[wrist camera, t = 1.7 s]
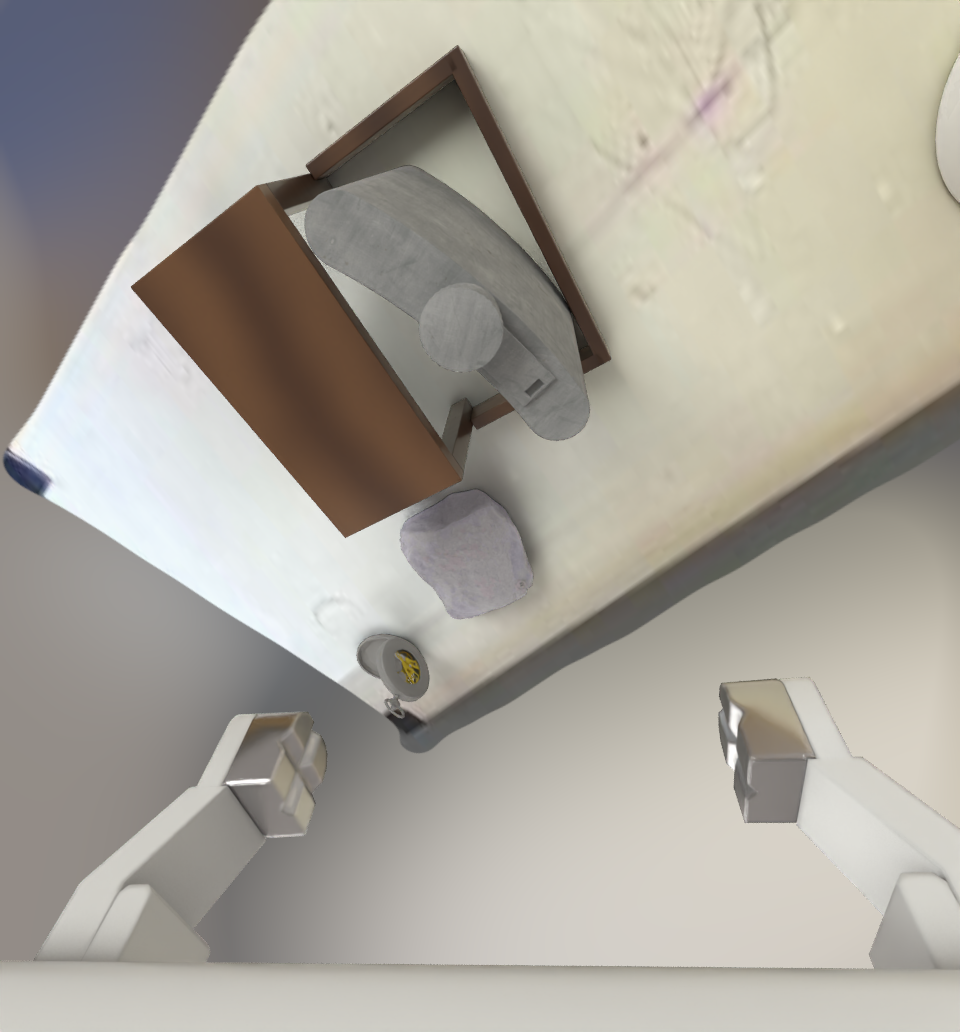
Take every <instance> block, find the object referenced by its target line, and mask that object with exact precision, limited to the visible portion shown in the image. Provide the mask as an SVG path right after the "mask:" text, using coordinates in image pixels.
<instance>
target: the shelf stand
mask: <svg viewBox="0 0 960 1032" xmlns="http://www.w3.org/2000/svg"><path fill="white" fill-rule="evenodd" d="M454 79H455V81H456V83H457V85H458V87H459V89H460V91H461V93H462V95H463V97H464V98H465V100H466V102H467V104H468V106H469V108H470V110H471V112H472V114H473V116H474V118H475V120H476V122H477V124H478V126H479V128H480V130H481V132H482V134H483V136H484V138H485V140H486V142H487V144H488V146H489V148H490V150H491V152H492V154H493V156H494V158H495V160H496V162H497V164H498V166H499V168H500V170H501V172H502V174H503V176H504V178H505V180H506V182H507V184H508V186H509V188H510V190H511V192H512V194H513V196H514V198H515V200H516V202H517V204H518V206H519V208H520V210H521V212H522V214H523V216H524V218H525V220H526V222H527V224H528V226H529V228H530V230H531V232H532V234H533V236H534V238H535V240H536V242H537V243H538V245H539V247H540V249H541V251H542V253H543V255H544V257H545V259H546V261H547V263H548V265H549V267H550V269H551V271H552V273H553V275H554V277H555V279H556V281H557V283H558V285H559V287H560V289H561V291H562V293H563V295H564V297H565V299H566V301H567V303H568V305H569V307H570V309H571V311H572V313H573V315H574V317H575V319H576V321H577V323H578V325H579V327H580V329H581V331H582V333H583V335H584V337H585V339H586V341H587V343H588V346H586V347H585V348H583V349H581V350H579V356H580V361H581V366H582V371H583V374H585V373H587V372H589V371H591V370H592V369H594V368H596V367H598V366H600V365H602V364H604V363H606V362H608V361H610V360H611V356H610V353H609V350H608V347H607V345H606V343H605V341H604V339H603V337H602V335H601V333H600V331H599V329H598V327H597V325H596V323H595V321H594V318H593V316H592V314H591V312H590V310H589V308H588V306H587V304H586V302H585V300H584V298H583V296H582V294H581V292H580V290H579V288H578V286H577V284H576V282H575V280H574V277H573V275H572V273H571V271H570V269H569V267H568V265H567V263H566V261H565V259H564V257H563V255H562V253H561V251H560V249H559V247H558V245H557V243H556V241H555V239H554V236H553V234H552V232H551V230H550V228H549V226H548V224H547V222H546V220H545V218H544V216H543V214H542V212H541V210H540V208H539V206H538V204H537V202H536V200H535V198H534V196H533V193H532V191H531V189H530V187H529V185H528V183H527V181H526V179H525V177H524V175H523V173H522V171H521V169H520V167H519V165H518V163H517V161H516V159H515V157H514V155H513V152H512V150H511V148H510V146H509V144H508V142H507V140H506V138H505V136H504V134H503V132H502V130H501V128H500V126H499V124H498V122H497V120H496V118H495V116H494V114H493V111H492V109H491V107H490V105H489V103H488V101H487V99H486V97H485V95H484V93H483V91H482V89H481V87H480V85H479V83H478V81H477V79H476V77H475V75H474V73H473V71H472V68H471V66H470V64H469V62H468V60H467V58H466V56H465V54H464V52H463V50H462V49H461V48H460V47H459V46H458V45H457V46H455V47H454V48H453V49H452V50H450V51H449V52H448V53H447V54H445V55H444V56H443V57H442V58H440V59H439V60H438V61H436V62H435V63H434V64H433V65H431V66H430V67H429V68H428V69H426V70H425V71H424V72H423V73H421V74H420V75H419V76H417V77H416V78H415V79H414V80H412V81H411V82H410V83H409V84H407V85H406V86H405V87H404V88H402V89H401V90H400V91H399V92H397V93H396V94H395V95H393V96H392V97H391V98H390V99H388V100H387V101H386V102H385V103H383V104H382V105H381V106H380V107H378V108H377V109H376V110H374V111H373V112H372V113H371V114H369V115H368V116H367V117H366V118H364V119H363V120H362V121H361V122H359V123H358V124H357V125H355V126H354V127H353V128H352V129H350V130H349V131H348V132H347V133H345V134H344V135H343V136H342V137H340V138H339V139H338V140H337V141H335V142H334V143H333V144H331V145H330V146H329V147H328V148H326V149H325V150H324V151H323V152H321V153H320V154H319V155H318V156H316V157H315V158H314V159H312V160H311V161H310V162H309V163H307V164H306V167H307V169H308V170H309V172H310V174H306V175H301V176H297V177H292V178H288V179H283V180H279V181H274V182H270V183H266V184H261V185H256V186H255V187H254V188H253V189H252V190H250V191H249V192H248V193H247V194H245V195H244V196H243V197H242V198H240V199H239V200H238V201H237V202H235V203H234V204H233V205H232V206H230V207H229V208H228V209H227V210H225V211H224V212H223V213H222V214H220V215H219V216H218V217H217V218H215V219H214V220H213V221H212V222H210V223H209V224H208V225H207V226H206V227H204V228H203V229H202V230H201V231H199V232H198V233H197V234H196V235H194V236H193V237H192V238H191V239H189V240H188V241H187V242H186V243H184V244H183V245H182V246H181V247H179V248H178V249H177V250H176V251H174V252H173V253H172V254H171V255H169V256H168V257H167V258H166V259H165V260H163V261H162V262H161V263H160V264H158V265H157V266H156V267H155V268H153V269H152V270H151V271H150V272H148V273H147V274H146V275H145V276H143V277H142V278H141V279H140V280H138V281H137V282H136V283H135V284H133V285H132V286H131V288H132V290H133V291H134V292H135V293H136V294H137V295H138V297H139V298H140V299H141V300H142V301H143V302H144V304H145V305H146V306H147V307H148V308H149V309H150V311H151V312H152V313H153V314H154V315H155V316H156V318H157V319H158V320H159V321H160V322H161V323H162V325H163V326H164V327H165V328H166V329H167V330H168V332H169V333H170V334H171V335H172V336H173V337H174V339H175V340H176V341H177V342H178V343H179V344H180V346H181V347H182V348H183V349H184V350H185V351H186V353H187V354H188V355H189V356H190V357H191V358H192V360H193V361H194V362H195V363H196V364H197V365H198V367H199V368H200V369H201V370H202V371H203V372H204V374H205V375H206V376H207V377H208V378H209V379H210V381H211V382H212V383H213V384H214V385H215V386H216V388H217V389H218V390H219V391H220V392H221V393H222V395H223V396H224V397H225V398H226V399H227V400H228V402H229V403H230V404H231V405H232V406H233V407H234V409H235V410H236V411H237V412H238V413H239V414H240V416H241V417H242V418H243V419H244V420H245V421H246V423H247V424H248V425H249V426H250V427H251V428H252V430H253V431H254V432H255V433H256V434H257V435H258V437H259V438H260V439H261V440H262V441H263V442H264V444H265V445H266V446H267V447H268V448H269V449H270V451H271V452H272V453H273V454H274V455H275V456H276V458H277V459H278V460H279V461H280V462H281V463H282V465H283V466H284V467H285V468H286V469H287V470H288V472H289V473H290V474H291V475H292V476H293V477H294V479H295V480H296V481H297V482H298V483H299V484H300V486H301V487H302V488H303V489H304V490H305V492H306V493H307V494H308V495H309V496H310V497H311V499H312V500H313V501H314V502H315V503H316V504H317V506H318V507H319V508H320V509H321V510H322V511H323V513H324V514H325V515H326V516H327V517H328V518H329V520H330V521H331V522H332V523H333V524H334V525H335V527H336V528H337V529H338V530H339V531H340V532H341V534H342V535H343V536H344V537H345V538H346V537H348V536H350V535H352V534H354V533H356V532H358V531H361V530H363V529H365V528H367V527H369V526H371V525H373V524H375V523H377V522H379V521H381V520H383V519H385V518H387V517H389V516H391V515H393V514H395V513H397V512H399V511H401V510H403V509H405V508H407V507H409V506H411V505H413V504H415V503H417V502H419V501H421V500H423V499H426V498H428V497H430V496H432V495H434V494H436V493H438V492H440V491H442V490H444V489H446V488H448V487H450V486H452V485H454V484H456V483H458V482H460V481H462V478H463V473H464V467H465V462H466V457H467V452H468V447H469V442H470V437H471V432H472V427H473V425H474V427H475V428H476V429H479V428H481V427H483V426H485V425H487V424H489V423H491V422H493V421H495V420H497V419H499V418H500V417H502V416H504V415H506V414H508V413H510V412H512V411H514V410H515V409H514V408H513V406H512V405H511V404H510V403H509V402H508V401H507V400H506V399H505V398H504V397H503V396H502V395H501V393H499V394H497V395H495V396H493V397H492V398H490V399H488V400H486V401H484V402H482V403H480V404H479V405H477V406H475V407H472V406H471V404H470V403H469V401H468V400H467V398H465V399H463V400H461V401H459V402H457V403H455V404H454V405H452V406H451V408H450V411H449V415H448V418H447V422H446V425H445V429H444V432H443V435H442V439H441V438H440V437H439V435H438V434H437V432H436V431H435V429H434V428H433V427H432V425H431V424H430V422H429V421H428V419H427V418H426V416H425V415H424V413H423V412H422V411H421V409H420V408H419V406H418V405H417V403H416V402H415V400H414V399H413V397H412V396H411V395H410V393H409V392H408V390H407V389H406V387H405V386H404V384H403V383H402V381H401V380H400V378H399V377H398V376H397V374H396V373H395V371H394V370H393V368H392V367H391V365H390V364H389V362H388V361H387V360H386V358H385V357H384V355H383V354H382V352H381V351H380V349H379V348H378V346H377V345H376V344H375V342H374V341H373V339H372V338H371V336H370V335H369V333H368V332H367V330H366V329H365V328H364V326H363V325H362V323H361V322H360V320H359V319H358V317H357V316H356V314H355V313H354V312H353V310H352V309H351V307H350V306H349V304H348V303H347V301H346V300H345V298H344V297H343V295H342V294H341V293H340V291H339V290H338V288H337V287H336V285H335V284H334V282H333V281H332V279H331V278H330V277H329V275H328V274H327V272H326V271H325V269H324V268H323V266H322V265H321V263H320V262H319V261H318V259H317V258H316V256H315V255H314V253H313V252H312V250H311V249H310V247H309V246H308V245H307V243H306V242H305V240H304V239H303V237H302V236H301V234H300V233H299V231H298V230H297V229H296V227H295V226H294V224H293V223H292V221H291V220H290V218H289V217H288V216H290V215H293V214H295V213H298V212H301V211H303V210H306V209H308V207H309V205H310V203H311V202H312V200H313V199H314V198H315V197H317V196H318V195H319V194H321V193H323V192H325V191H328V190H331V189H333V188H332V187H331V185H330V183H329V182H328V180H327V179H326V177H328V176H329V175H330V174H332V173H333V172H334V171H336V170H337V169H338V168H339V167H341V166H342V165H343V164H345V163H346V162H347V161H349V160H350V159H351V158H352V157H354V156H355V155H356V154H358V153H359V152H360V151H362V150H363V149H364V148H365V147H367V146H368V145H369V144H371V143H372V142H373V141H375V140H376V139H377V138H378V137H380V136H381V135H382V134H384V133H385V132H386V131H388V130H389V129H390V128H392V127H393V126H394V125H395V124H397V123H398V122H399V121H401V120H402V119H403V118H405V117H406V116H407V115H408V114H410V113H411V112H412V111H414V110H415V109H416V108H418V107H419V106H420V105H421V104H423V103H424V102H425V101H427V100H428V99H429V98H431V97H432V96H433V95H434V94H436V93H437V92H438V91H440V90H441V89H442V88H444V87H445V86H446V85H447V84H449V83H450V82H451V81H453V80H454Z"/></svg>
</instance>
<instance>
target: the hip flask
mask: <svg viewBox="0 0 960 1032" xmlns="http://www.w3.org/2000/svg"><path fill="white" fill-rule="evenodd" d="M305 233H306V237H307V240H308V243H309V245H310V247H311V249H312V251H313V252H314V253H315V254H316V256H317V257H318V258H319V259H320V260H321V261H322V262H324V263H325V264H327V265H328V266H330V267H332V268H334V269H336V270H338V271H339V272H341V273H343V274H345V275H347V276H349V277H351V278H352V279H354V280H356V281H357V282H359V283H361V284H363V285H364V286H366V287H368V288H369V289H371V290H373V291H374V292H376V293H377V294H379V295H380V296H382V297H383V298H385V299H387V300H388V301H390V302H391V303H393V304H394V305H395V306H397V307H398V308H400V309H401V310H403V311H404V312H406V313H407V314H408V315H410V316H411V317H413V318H414V319H415V320H417V321H418V322H419V326H420V327H419V334H420V340H421V342H422V346H423V348H424V349H425V351H426V353H427V355H429V356H430V357H431V359H432V360H433V361H434V362H436V363H437V364H438V365H439V366H442V367H444V368H445V369H448V370H451V371H453V372H455V371H458V372H470V371H472V370H477V371H478V372H479V373H480V374H481V375H482V376H483V377H484V378H486V379H487V380H488V381H489V382H490V383H491V384H492V385H493V386H494V387H495V388H496V389H497V390H498V391H499V392H500V393H501V395H502V396H503V397H504V398H505V399H506V400H507V401H508V402H509V403H510V404H511V405H512V406H513V408H514V409H515V410H516V411H517V412H518V413H519V414H520V416H521V417H522V418H523V419H524V421H525V422H526V423H527V424H528V426H529V427H530V428H531V429H532V430H533V431H534V432H535V433H536V434H537V435H539V436H540V437H542V438H545V439H548V440H555V441H559V440H565V439H568V438H571V437H573V436H575V435H576V434H577V433H579V432H580V431H581V430H582V429H583V428H584V426H585V425H586V423H587V421H588V418H589V413H590V405H589V400H588V395H587V390H586V385H585V380H584V375H583V371H582V366H581V361H580V356H579V351H578V346H577V341H576V336H575V331H574V326H573V321H572V316H571V311H570V308H569V306H568V304H567V302H566V301H565V300H564V298H563V297H562V295H561V294H560V292H559V291H558V290H557V288H556V287H555V286H554V285H553V283H552V282H551V281H550V279H549V278H548V277H547V276H546V274H545V273H544V272H543V271H542V270H541V269H540V267H539V266H538V265H537V264H536V263H535V262H534V261H533V260H532V258H531V257H530V256H529V255H528V254H527V253H526V252H525V251H524V250H523V249H522V248H521V247H520V246H519V245H518V244H517V243H516V242H515V241H514V240H513V239H512V238H511V237H510V236H509V235H508V234H507V233H506V232H505V231H504V230H502V229H501V228H500V227H499V226H498V225H497V224H496V223H495V222H494V221H492V220H491V219H490V218H489V217H488V216H487V215H485V214H484V213H483V212H482V211H481V210H480V209H478V208H477V207H476V206H474V205H473V204H472V203H471V202H469V201H468V200H467V199H465V198H464V197H463V196H461V195H460V194H459V193H457V192H456V191H454V190H453V189H452V188H450V187H449V186H447V185H446V184H444V183H443V182H441V181H440V180H438V179H436V178H435V177H433V176H432V175H430V174H428V173H427V172H425V171H423V170H422V169H420V168H418V167H415V166H411V165H406V166H402V167H399V168H396V169H393V170H390V171H386V172H383V173H380V174H377V175H374V176H371V177H368V178H365V179H362V180H359V181H356V182H352V183H349V184H346V185H343V186H340V187H337V188H334V189H331V190H328V191H325V192H323V193H321V194H319V195H318V196H317V197H315V198H314V199H313V200H312V202H311V203H310V205H309V207H308V209H307V212H306V216H305Z"/></svg>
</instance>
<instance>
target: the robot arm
mask: <svg viewBox="0 0 960 1032" xmlns="http://www.w3.org/2000/svg"><path fill="white" fill-rule="evenodd" d="M935 144H936V156H937V162H938V166H939V170H940V173H941V176H942V178H943V181H944V183H945V185H946V186H947V188H948V190H949V191H950V193H951V194H952V196H953V197H954V198H955V199H956V200H957V201H958V202H959V203H960V53H959V55H958V57H957V59H956V61H955V63H954V65H953V67H952V70H951V72H950V75H949V77H948V79H947V82H946V85H945V88H944V91H943V95H942V98H941V102H940V106H939V110H938V116H937V122H936V136H935ZM719 697H720V700H721V703H722V707H723V709H722V710H721V711H720V712H719V733H720V740H721V745H722V748H723V752H724V756H725V760H726V763H727V765H728V766H730V767H731V768H732V769H733V770H734V771H735V772H734V790H735V793H736V796H737V799H738V802H739V806H740V809H741V812H742V815H743V818H744V822H745V823H788V822H789V823H797V826H798V827H799V828H800V829H801V830H802V832H803V833H804V834H805V835H806V836H807V837H808V838H809V839H810V840H811V841H812V842H813V843H814V844H815V845H816V846H817V847H818V848H819V849H820V850H821V851H822V852H823V853H824V854H825V855H826V856H827V857H828V858H829V860H830V861H831V862H832V863H833V864H834V865H835V866H836V867H837V868H838V869H839V870H840V871H841V872H842V873H843V874H844V875H845V876H846V877H847V878H848V879H849V880H850V881H851V882H852V884H853V885H854V886H855V887H856V888H857V889H858V890H859V891H860V892H861V893H862V894H863V895H864V896H865V897H866V898H867V899H868V900H869V901H870V902H871V903H872V904H873V905H874V906H875V908H876V909H877V910H878V911H879V912H880V913H881V914H882V915H883V916H884V917H883V919H882V922H881V924H880V927H879V930H878V932H877V935H876V938H875V940H874V943H873V945H872V948H871V951H870V953H869V956H870V959H871V961H872V964H873V966H874V969H841V968H839V969H837V968H836V969H835V968H834V969H833V968H736V967H734V968H732V967H631V966H627V967H626V966H528V965H526V966H525V965H424V964H423V965H422V964H421V965H419V964H416V965H415V964H315V963H313V964H312V963H310V964H309V963H206V962H207V959H208V956H209V954H210V949H209V946H208V944H207V943H206V942H205V941H204V940H203V939H202V938H201V937H200V936H199V935H198V934H197V933H196V931H194V928H195V926H196V925H197V924H198V923H199V921H200V920H201V919H202V918H203V917H204V915H205V914H206V913H207V912H208V911H209V909H210V908H211V907H212V906H213V904H214V903H215V902H216V901H217V900H218V898H219V897H220V896H221V894H222V893H223V892H224V891H225V890H226V889H227V887H228V886H229V885H230V884H231V882H232V881H233V880H234V879H235V878H236V877H237V875H238V874H239V873H240V872H241V870H242V869H243V868H244V867H245V866H246V864H247V863H248V862H249V860H251V858H252V857H253V856H254V855H255V853H256V852H257V851H258V850H259V849H260V847H261V846H262V845H263V844H264V842H265V841H266V839H265V838H274V837H290V836H305V835H306V832H307V829H308V825H309V822H310V819H311V816H312V813H313V810H314V807H315V801H314V798H313V795H312V793H313V792H314V790H315V789H316V788H317V787H318V786H319V785H320V784H321V783H322V782H323V779H324V775H325V772H326V767H327V750H326V745H325V742H324V740H323V738H322V736H321V735H319V734H317V733H316V732H314V731H313V730H311V729H312V726H313V724H314V721H313V720H312V718H311V716H310V715H309V713H308V712H288V713H261V714H243V715H236V716H235V717H234V718H233V719H232V720H231V721H230V722H229V724H228V727H227V728H226V730H225V732H224V734H223V736H222V738H221V740H220V742H219V744H218V746H217V748H216V750H215V752H214V754H213V756H212V758H211V760H210V761H209V763H208V765H207V767H206V769H205V771H204V773H203V775H202V777H201V779H200V781H199V783H198V785H197V787H190V788H189V789H187V790H186V791H185V792H184V793H183V794H182V795H181V796H179V797H178V798H177V799H176V800H175V801H174V802H173V803H171V804H170V805H169V806H168V807H167V808H166V809H164V810H163V811H162V812H161V813H160V814H159V815H158V816H156V817H155V818H154V819H153V820H152V821H151V822H149V823H148V824H147V825H146V826H145V827H144V828H143V829H141V830H140V831H139V832H138V833H137V834H136V835H135V836H133V837H132V838H131V839H130V840H129V841H128V842H126V843H125V844H124V845H123V846H122V847H121V848H119V849H118V850H117V851H116V852H115V853H114V854H113V855H111V856H110V857H109V858H108V859H107V860H106V861H104V862H103V863H102V864H101V865H100V866H99V867H98V868H96V869H95V870H94V871H93V872H92V873H91V874H90V875H88V876H87V877H86V878H85V879H84V880H83V881H81V882H80V883H79V885H78V887H77V888H76V890H75V892H74V893H73V895H72V897H71V898H70V900H69V902H68V904H67V906H66V907H65V908H64V910H63V912H62V913H61V915H60V917H59V919H58V920H57V922H56V923H55V925H54V927H53V928H52V930H51V932H50V934H49V935H48V937H47V938H46V940H45V942H44V943H43V945H42V947H41V948H40V951H39V952H38V954H37V955H36V957H35V958H34V960H33V961H0V1032H960V828H958V827H957V826H955V825H954V824H953V823H951V822H950V821H949V820H947V819H946V818H945V817H943V816H942V815H941V814H939V813H938V812H936V811H935V810H934V809H932V808H931V807H929V806H928V805H927V804H926V803H924V802H923V801H922V800H920V799H919V798H917V797H916V796H914V795H913V794H912V793H911V792H909V791H908V790H906V789H905V788H903V787H902V786H901V785H900V784H898V783H897V782H896V781H894V780H893V779H891V778H890V777H889V776H887V775H886V774H885V773H883V772H882V771H881V770H879V769H878V768H877V767H875V766H874V765H873V764H871V763H870V762H868V761H867V760H866V759H864V758H863V757H852V755H851V753H850V751H849V749H848V747H847V745H846V743H845V741H844V739H843V737H842V735H841V733H840V731H839V729H838V727H837V726H836V724H835V722H834V720H833V718H832V716H831V714H830V712H829V710H828V708H827V706H826V704H825V702H824V700H823V698H822V696H821V694H820V692H819V690H818V688H817V686H816V684H815V682H814V681H813V680H812V679H811V678H810V677H801V678H786V679H779V680H778V679H764V680H752V681H739V682H727V683H721V685H720V692H719Z"/></svg>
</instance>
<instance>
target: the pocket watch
mask: <svg viewBox="0 0 960 1032" xmlns="http://www.w3.org/2000/svg"><path fill="white" fill-rule="evenodd" d="M356 656H357V661H358V663H359V665H360V666H361V668H362V669H363V670H364V671H366V672H367V673H368V674H370V675H372V676H374V677H376V678H379V679H381V680H382V682H383V683H384V685H385V686H386V688H387V689H388V690H389V691H390V692H391V693H392V694H393V695H394V697H393V698H391V699H386V700H385V705H386V707H387V708H388V710H389V711H390V712H391V713H393V714H394V715H395V716H397V717H399V718H404V716H405V714H404V711H403V710H402V708H401V707H400V703H399V701H398V699H400V700H402V701H406V702H412V701H416V700H418V699H419V698H421V697H422V696H423V695H424V694H425V692H426V691H427V689H428V686H429V671H428V667H427V664H426V662H425V660H424V658H423V656H422V655H421V653H420V651H419V650H418V649H417V648H416V647H415V646H414V645H413V644H412V643H410V642H409V641H407V640H405V639H402V638H400V637H397V636H393V635H389V634H379V635H374V636H370V637H368V638H366V639H365V640H364V641H363V642H362V643H361V644H360V646H359V647H358V649H357V655H356ZM413 673H414V676H413V677H412V678H414V681H413V680H412V678H411V675H413ZM409 677H410V679H411V680H410V679H409ZM408 679H409V681H408ZM410 682H411V683H412V684H411V683H410ZM388 701H389V702H390V705H391V708H390V707H389V706H388V704H387V702H388ZM396 708H399V709H400V711H401V713H402V716H400V715H398V714H396V713H395V712H394V711H392V710H395V709H396ZM391 709H392V710H391Z"/></svg>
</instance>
